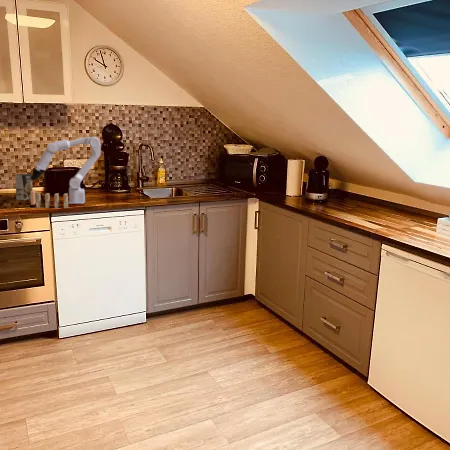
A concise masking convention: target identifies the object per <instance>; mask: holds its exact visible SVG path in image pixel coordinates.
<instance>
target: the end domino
mask: <svg viewBox="0 0 450 450" xmlns="http://www.w3.org/2000/svg"><path fill="white" fill-rule="evenodd" d="M30 194H31V199H30V205H35V204H36V190H32V191H31V192H30Z"/></svg>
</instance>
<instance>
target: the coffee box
mask: <svg viewBox="0 0 450 450" xmlns="http://www.w3.org/2000/svg"><path fill="white" fill-rule="evenodd" d="M14 177H15V179H14V180H15V181H14V182H15V196H16V200H17V201H28V200H31V194H30V192H31V191H32V190H33V180H31V177H32V173H18V174H15V175H14Z"/></svg>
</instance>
